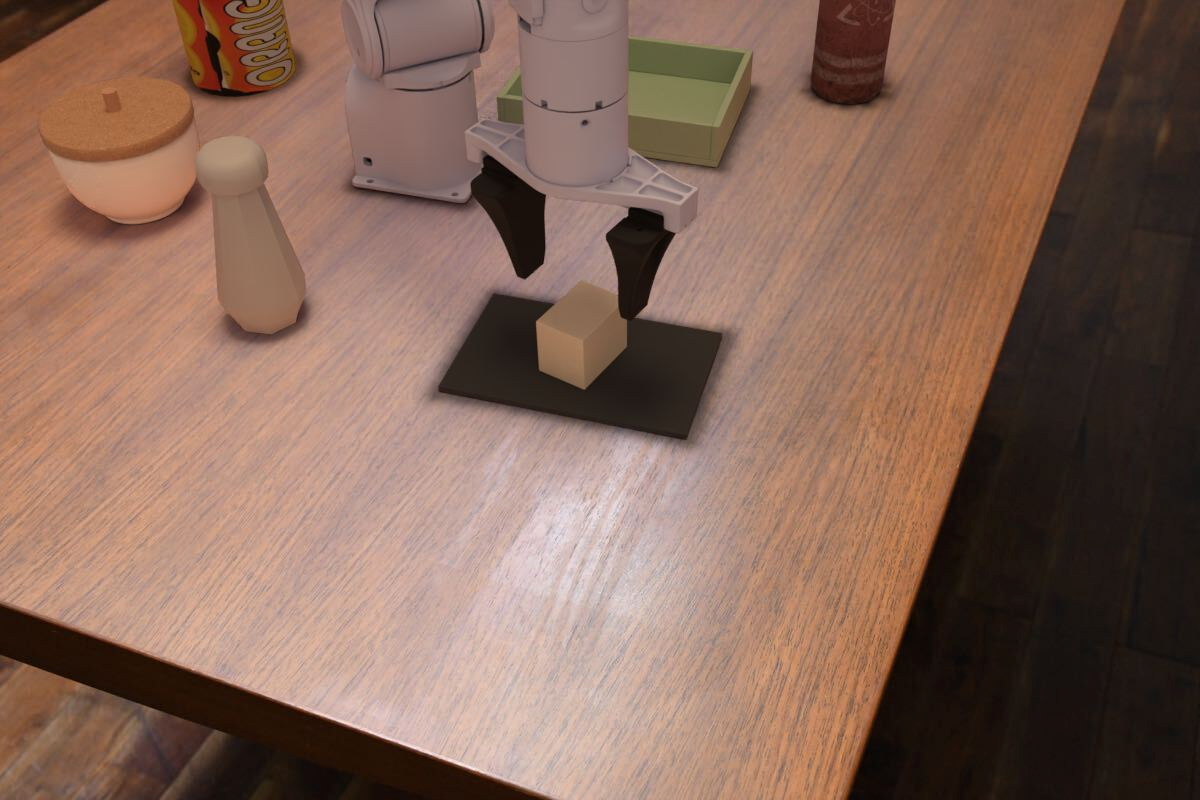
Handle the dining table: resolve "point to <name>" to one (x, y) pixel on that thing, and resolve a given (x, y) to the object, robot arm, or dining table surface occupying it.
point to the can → (851, 49)
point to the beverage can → (236, 44)
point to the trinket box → (124, 146)
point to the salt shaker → (249, 237)
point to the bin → (671, 98)
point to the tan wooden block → (581, 335)
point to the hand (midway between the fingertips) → (581, 290)
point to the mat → (617, 396)
